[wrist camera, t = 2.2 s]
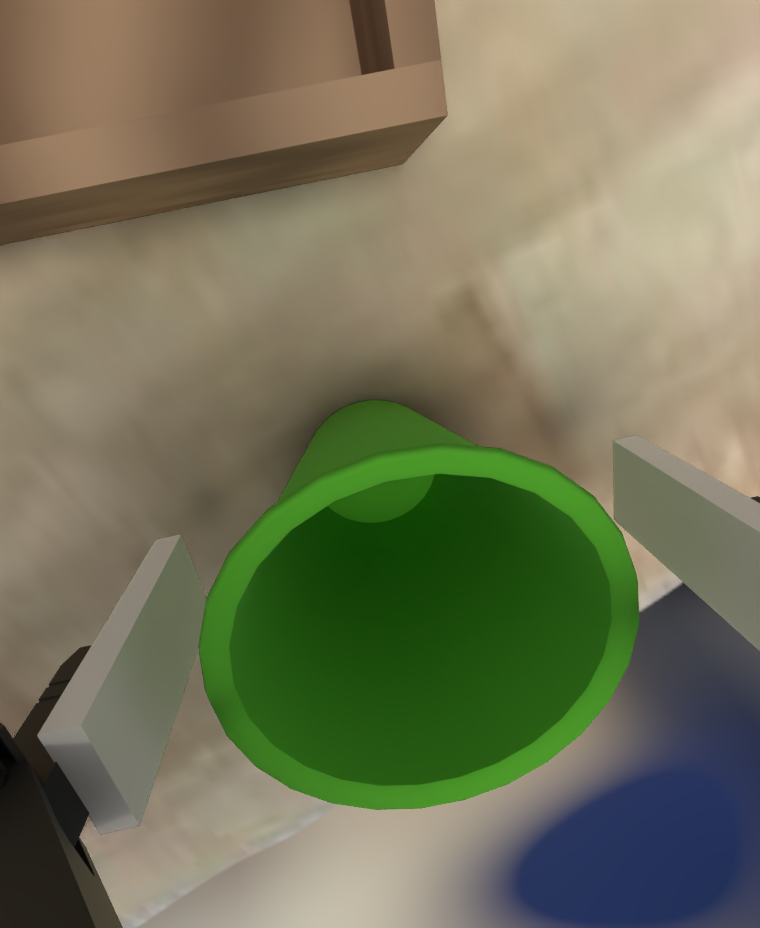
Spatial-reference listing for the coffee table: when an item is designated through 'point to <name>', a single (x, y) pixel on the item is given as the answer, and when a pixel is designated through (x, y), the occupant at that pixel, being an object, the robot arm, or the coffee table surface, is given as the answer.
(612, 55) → the coffee table surface
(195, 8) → the tray
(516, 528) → the cup
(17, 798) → the robot arm
